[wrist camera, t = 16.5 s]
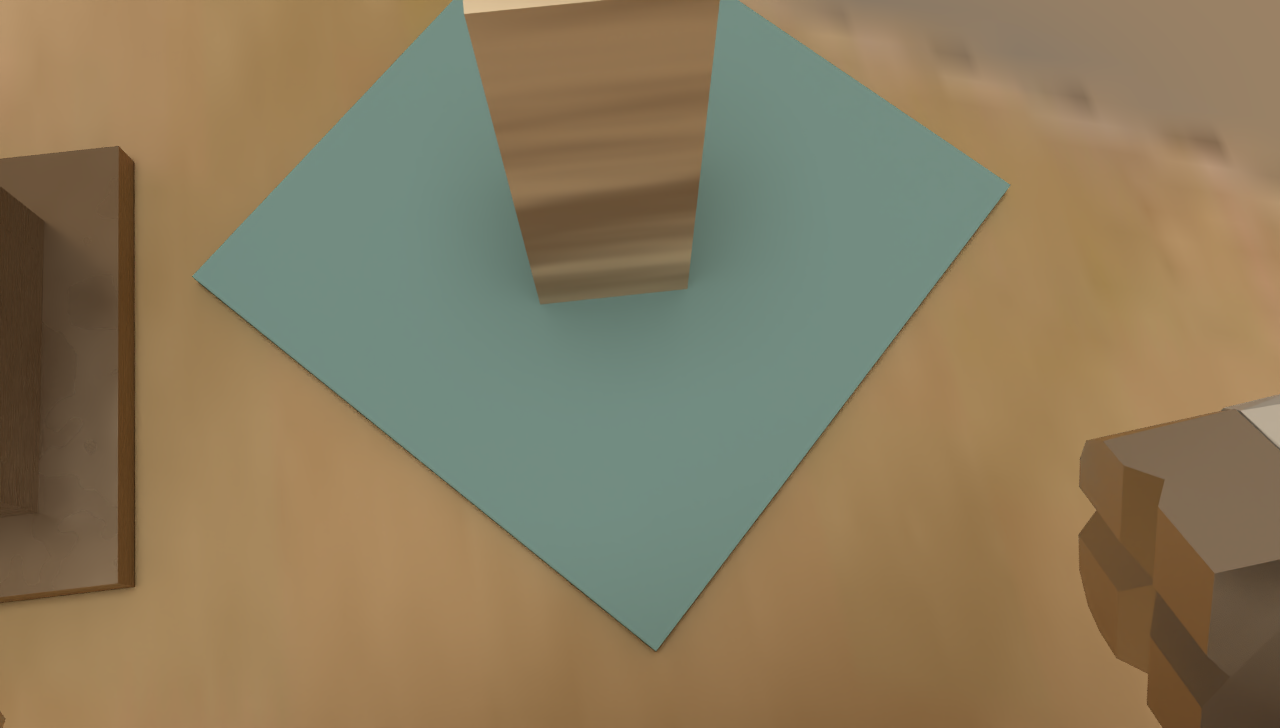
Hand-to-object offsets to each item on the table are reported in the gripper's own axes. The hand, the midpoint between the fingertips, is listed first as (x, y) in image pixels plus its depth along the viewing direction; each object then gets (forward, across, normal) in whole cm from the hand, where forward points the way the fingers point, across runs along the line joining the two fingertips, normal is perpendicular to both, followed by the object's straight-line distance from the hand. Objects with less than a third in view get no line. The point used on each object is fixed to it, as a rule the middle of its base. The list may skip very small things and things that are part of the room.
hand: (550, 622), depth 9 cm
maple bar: (+23, -1, +7) cm, 24 cm away
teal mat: (+23, -1, +7) cm, 25 cm away
